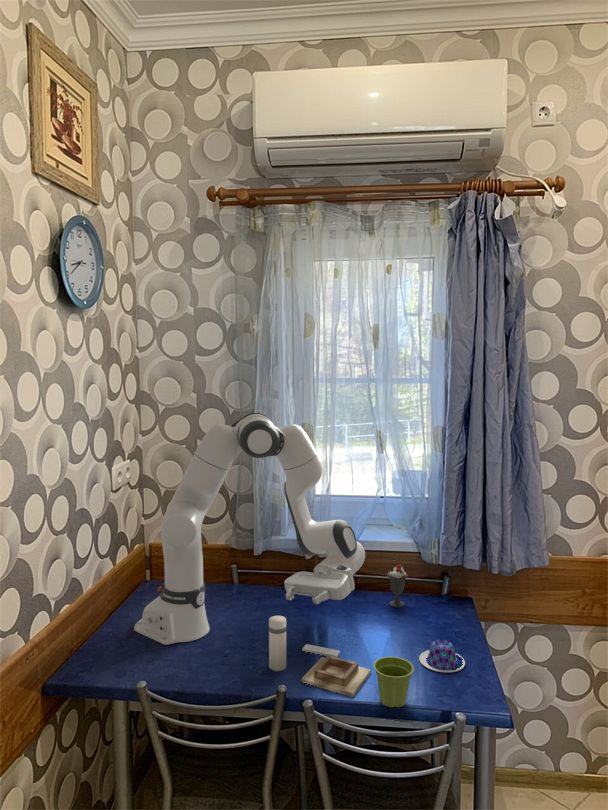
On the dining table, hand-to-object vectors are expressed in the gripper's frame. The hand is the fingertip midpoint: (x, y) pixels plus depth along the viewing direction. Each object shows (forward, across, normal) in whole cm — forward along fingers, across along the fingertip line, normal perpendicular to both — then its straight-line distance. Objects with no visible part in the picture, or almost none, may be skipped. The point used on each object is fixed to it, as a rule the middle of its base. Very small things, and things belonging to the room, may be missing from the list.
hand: (301, 599), depth 171 cm
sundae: (-39, +5, +23) cm, 45 cm away
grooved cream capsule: (+13, -1, +12) cm, 18 cm away
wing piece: (+1, +3, +16) cm, 16 cm away
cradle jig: (+9, +14, +15) cm, 22 cm away
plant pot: (+9, +30, +18) cm, 36 cm away
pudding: (-14, +31, +23) cm, 41 cm away
